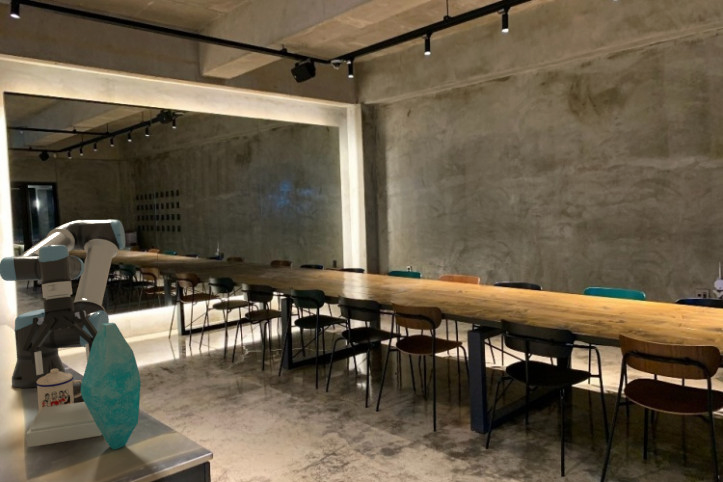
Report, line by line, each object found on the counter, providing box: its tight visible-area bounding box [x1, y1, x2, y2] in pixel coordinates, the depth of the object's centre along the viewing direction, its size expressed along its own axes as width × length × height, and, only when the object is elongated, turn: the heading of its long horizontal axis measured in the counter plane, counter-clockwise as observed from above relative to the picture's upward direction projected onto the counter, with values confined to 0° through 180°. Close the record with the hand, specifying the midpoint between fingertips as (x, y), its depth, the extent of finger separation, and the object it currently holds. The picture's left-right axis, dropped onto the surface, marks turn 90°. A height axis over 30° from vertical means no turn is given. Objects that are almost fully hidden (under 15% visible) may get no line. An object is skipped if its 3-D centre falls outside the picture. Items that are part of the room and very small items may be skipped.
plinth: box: [25, 401, 103, 448], centre depth 134 cm, size 16×16×4 cm
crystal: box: [80, 322, 142, 450], centre depth 122 cm, size 12×14×30 cm
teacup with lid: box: [36, 369, 82, 411], centre depth 147 cm, size 12×9×12 cm
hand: (65, 370), depth 150 cm, fingers open, 13 cm apart
